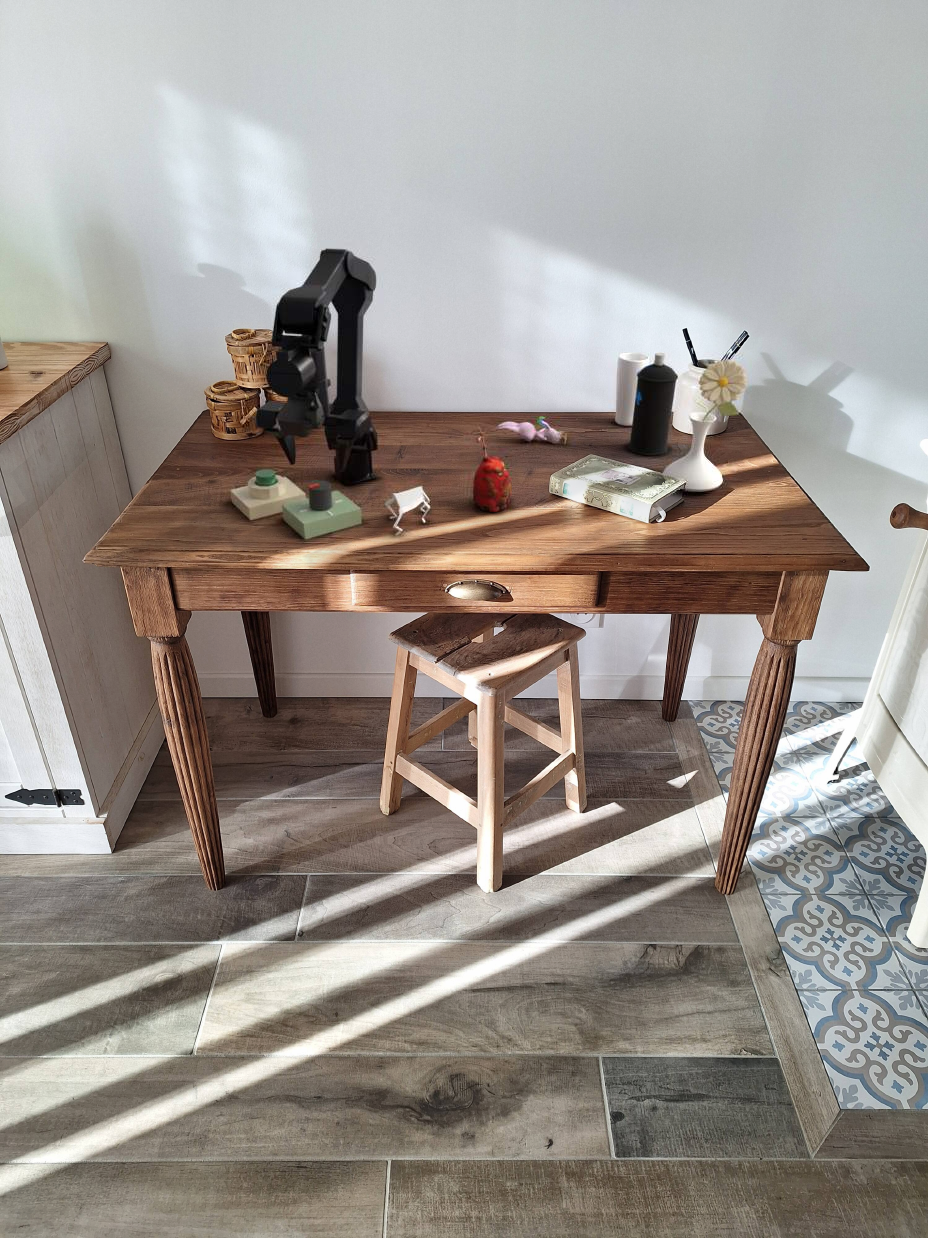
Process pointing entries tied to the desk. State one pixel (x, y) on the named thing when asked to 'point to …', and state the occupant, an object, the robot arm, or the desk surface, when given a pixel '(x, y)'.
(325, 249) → the robot arm
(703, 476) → the flower in vase
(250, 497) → the button base
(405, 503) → the white block with legs
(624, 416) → the white cylindrical vase
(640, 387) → the aerosol can
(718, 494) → the desk surface
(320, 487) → the dial
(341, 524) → the console
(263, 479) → the green button cap
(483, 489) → the red clay folk toy
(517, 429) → the rabbit figure
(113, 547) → the desk surface
